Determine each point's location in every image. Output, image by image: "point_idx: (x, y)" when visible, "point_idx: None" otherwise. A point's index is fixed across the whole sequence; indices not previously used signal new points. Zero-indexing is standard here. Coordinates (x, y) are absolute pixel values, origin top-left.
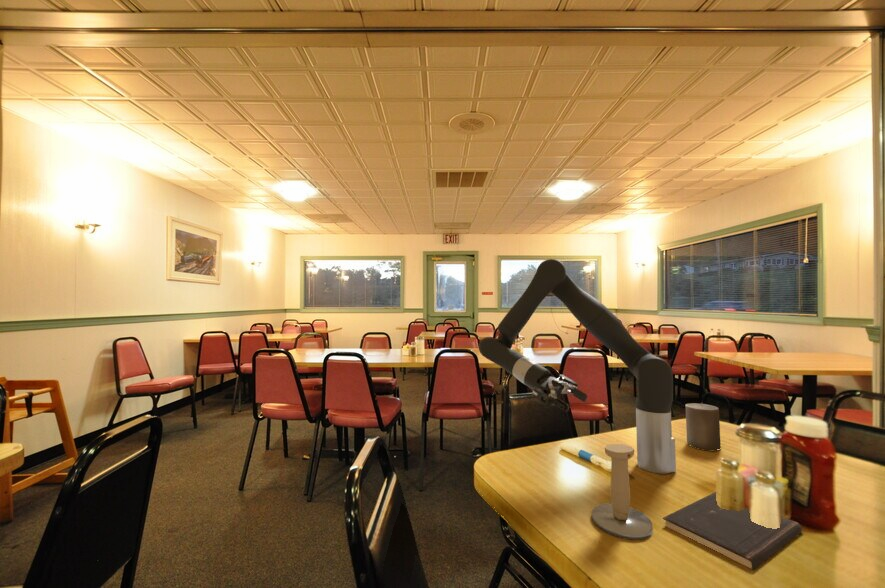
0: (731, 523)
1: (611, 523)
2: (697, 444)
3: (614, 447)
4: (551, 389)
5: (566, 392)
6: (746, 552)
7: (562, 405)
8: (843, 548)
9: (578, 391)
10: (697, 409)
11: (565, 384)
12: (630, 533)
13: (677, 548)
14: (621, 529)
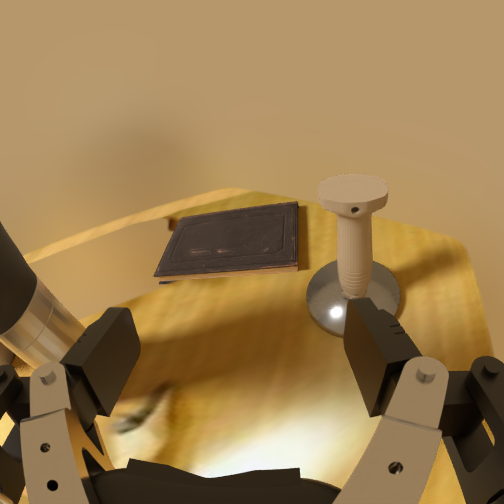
0: (235, 232)
1: (383, 286)
2: (10, 351)
3: (361, 191)
4: (416, 453)
5: (110, 462)
6: (287, 205)
7: (396, 319)
8: (192, 205)
9: (100, 342)
10: None
11: (70, 431)
12: (376, 262)
13: (333, 241)
14: (380, 272)
